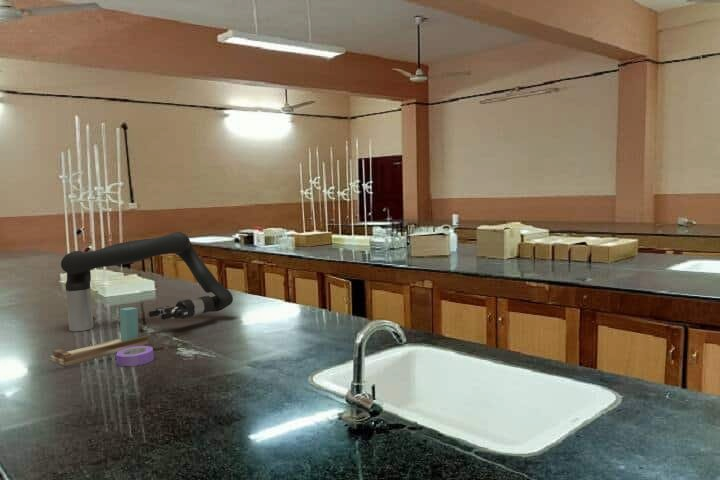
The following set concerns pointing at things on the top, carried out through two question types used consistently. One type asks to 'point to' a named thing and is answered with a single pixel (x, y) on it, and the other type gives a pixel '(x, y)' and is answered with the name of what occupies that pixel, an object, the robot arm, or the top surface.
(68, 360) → the board
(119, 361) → the masking tape
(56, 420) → the top surface
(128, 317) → the block
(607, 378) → the top surface
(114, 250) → the robot arm
